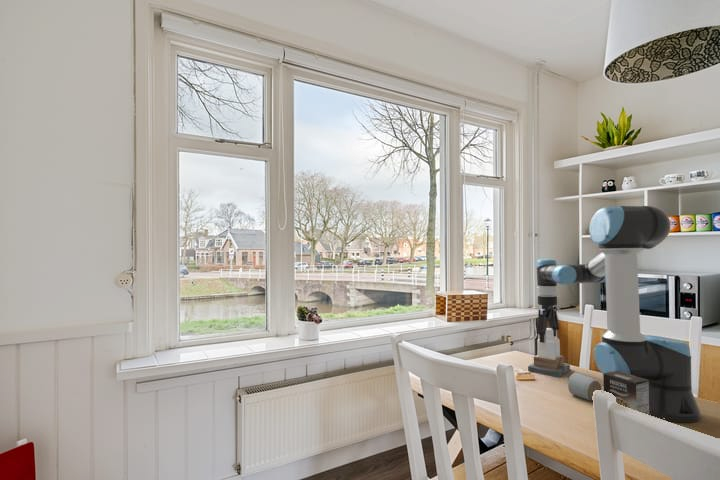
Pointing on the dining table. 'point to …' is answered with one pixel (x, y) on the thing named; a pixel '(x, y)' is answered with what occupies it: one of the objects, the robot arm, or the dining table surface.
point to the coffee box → (628, 390)
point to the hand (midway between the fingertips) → (548, 347)
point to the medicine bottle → (550, 345)
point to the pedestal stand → (549, 366)
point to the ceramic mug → (583, 386)
